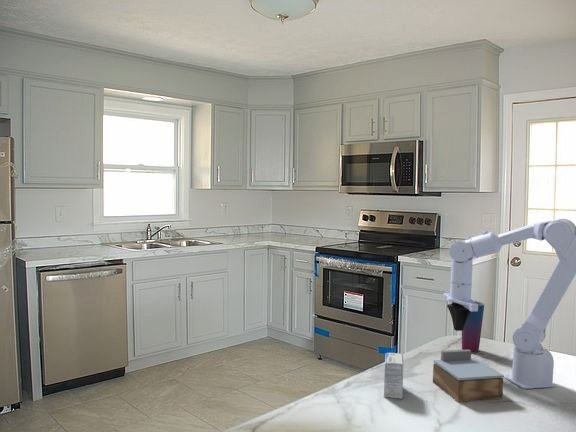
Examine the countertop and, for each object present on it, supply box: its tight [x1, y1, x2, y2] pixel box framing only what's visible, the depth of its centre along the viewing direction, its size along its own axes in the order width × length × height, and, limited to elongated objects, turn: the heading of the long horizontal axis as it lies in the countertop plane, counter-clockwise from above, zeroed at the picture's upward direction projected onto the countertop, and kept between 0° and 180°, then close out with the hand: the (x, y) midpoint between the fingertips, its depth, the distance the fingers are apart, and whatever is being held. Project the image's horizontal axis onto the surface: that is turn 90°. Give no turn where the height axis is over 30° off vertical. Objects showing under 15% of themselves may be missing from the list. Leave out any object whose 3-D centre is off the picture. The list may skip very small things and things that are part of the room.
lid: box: [433, 349, 505, 381], centre depth 126 cm, size 12×12×3 cm
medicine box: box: [383, 352, 404, 400], centre depth 124 cm, size 8×4×9 cm, turn 168°
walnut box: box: [432, 363, 504, 403], centre depth 126 cm, size 12×12×5 cm
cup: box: [461, 300, 485, 354], centre depth 157 cm, size 7×7×15 cm
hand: (458, 330), depth 143 cm, fingers closed
